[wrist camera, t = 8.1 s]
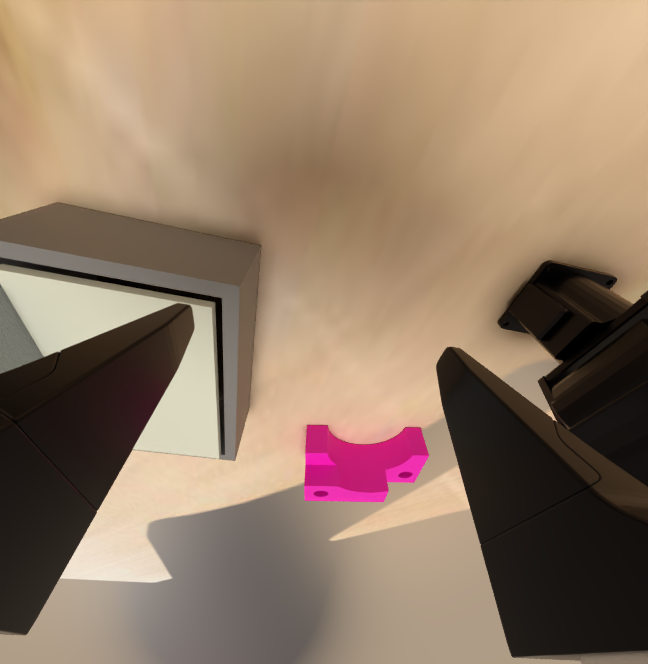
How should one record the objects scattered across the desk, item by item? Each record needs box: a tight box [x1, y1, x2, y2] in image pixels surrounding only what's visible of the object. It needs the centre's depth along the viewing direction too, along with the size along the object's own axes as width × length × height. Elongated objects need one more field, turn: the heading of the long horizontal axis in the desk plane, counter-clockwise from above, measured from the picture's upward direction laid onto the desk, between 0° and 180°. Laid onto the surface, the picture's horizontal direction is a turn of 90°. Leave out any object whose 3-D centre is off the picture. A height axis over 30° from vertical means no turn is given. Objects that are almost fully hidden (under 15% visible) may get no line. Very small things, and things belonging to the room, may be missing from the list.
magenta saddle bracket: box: [304, 425, 429, 502], centre depth 35 cm, size 15×6×8 cm
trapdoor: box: [0, 264, 221, 459], centre depth 19 cm, size 14×18×3 cm
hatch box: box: [0, 202, 261, 461], centre depth 23 cm, size 14×21×6 cm, turn 168°
